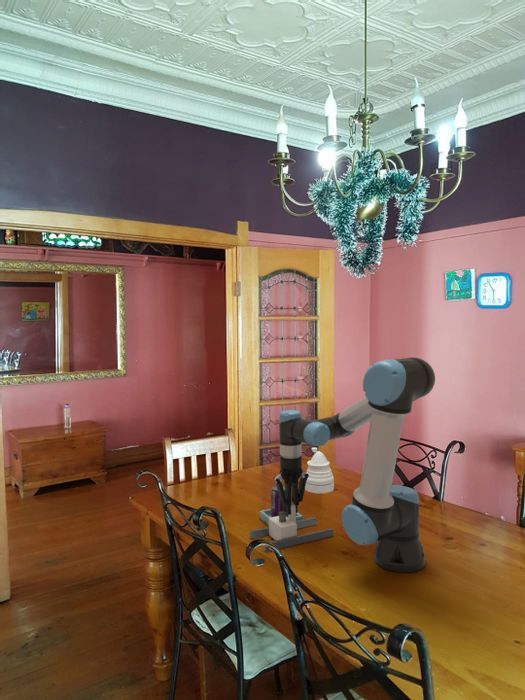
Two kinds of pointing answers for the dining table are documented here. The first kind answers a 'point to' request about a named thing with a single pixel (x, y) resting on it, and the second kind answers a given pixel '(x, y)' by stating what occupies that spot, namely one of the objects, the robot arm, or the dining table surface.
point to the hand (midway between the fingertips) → (292, 522)
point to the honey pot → (319, 474)
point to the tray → (267, 514)
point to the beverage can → (276, 502)
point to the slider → (282, 527)
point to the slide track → (296, 539)
